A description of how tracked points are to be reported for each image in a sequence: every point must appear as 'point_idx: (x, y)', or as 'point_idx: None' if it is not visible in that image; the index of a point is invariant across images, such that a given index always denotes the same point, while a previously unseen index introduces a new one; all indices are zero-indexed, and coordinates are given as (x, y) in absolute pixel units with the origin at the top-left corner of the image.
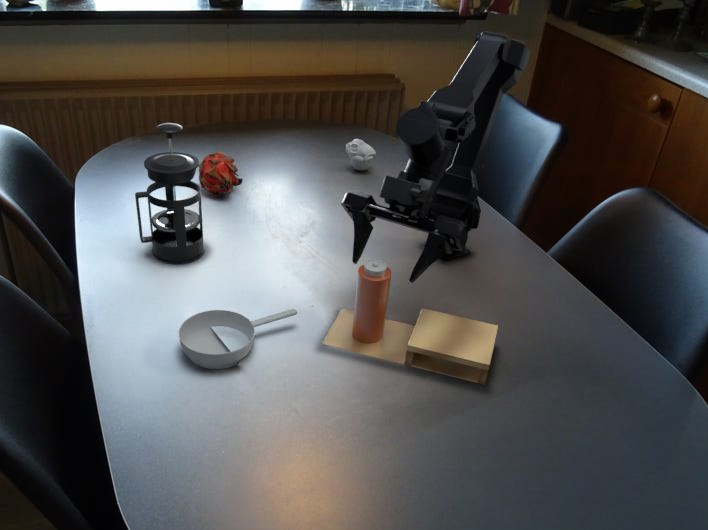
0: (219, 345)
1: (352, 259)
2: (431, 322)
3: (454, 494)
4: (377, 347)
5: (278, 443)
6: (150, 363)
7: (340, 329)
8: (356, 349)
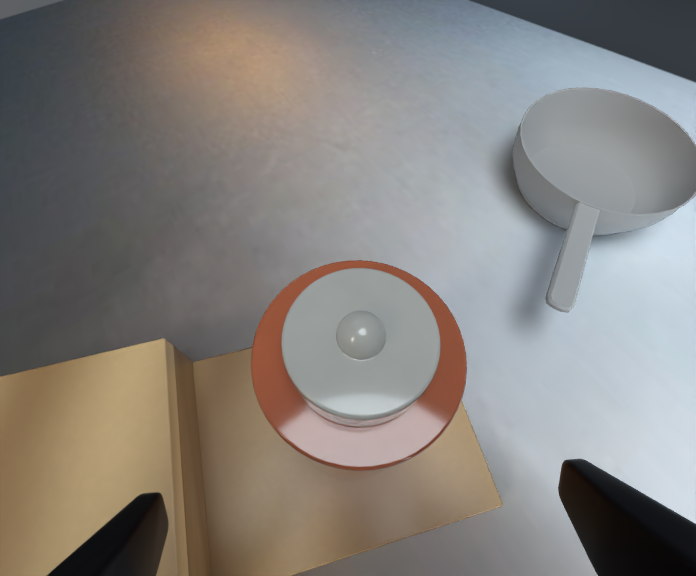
0: (589, 192)
1: (590, 463)
2: None
3: (21, 140)
4: None
5: (319, 91)
6: None
7: None
8: None
